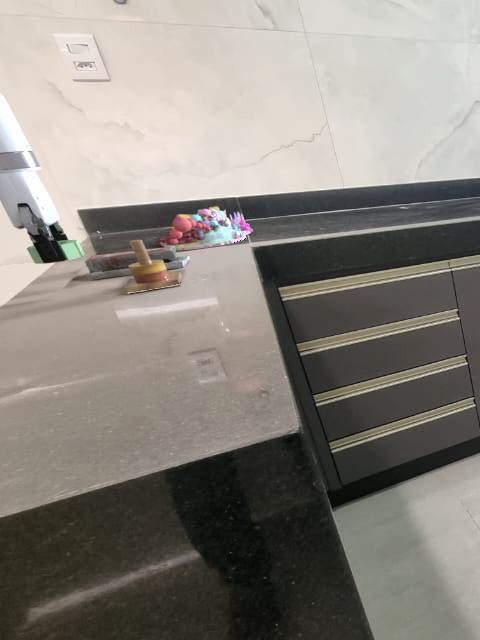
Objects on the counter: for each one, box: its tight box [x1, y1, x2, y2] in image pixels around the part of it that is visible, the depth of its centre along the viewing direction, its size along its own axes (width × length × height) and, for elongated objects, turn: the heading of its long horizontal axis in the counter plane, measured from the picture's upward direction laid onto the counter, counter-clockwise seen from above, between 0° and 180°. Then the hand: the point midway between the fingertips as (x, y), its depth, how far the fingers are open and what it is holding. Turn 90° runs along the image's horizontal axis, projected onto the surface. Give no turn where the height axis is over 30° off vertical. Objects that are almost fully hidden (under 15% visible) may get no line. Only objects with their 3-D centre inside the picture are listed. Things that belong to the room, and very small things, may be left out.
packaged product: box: [84, 247, 191, 281], centre depth 129 cm, size 18×5×10 cm
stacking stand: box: [123, 239, 183, 294], centre depth 114 cm, size 9×9×10 cm
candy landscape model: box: [155, 205, 254, 252], centre depth 158 cm, size 25×24×9 cm
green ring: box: [26, 239, 86, 265], centre depth 104 cm, size 7×7×3 cm
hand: (59, 257), depth 105 cm, fingers closed on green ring, 7 cm apart
